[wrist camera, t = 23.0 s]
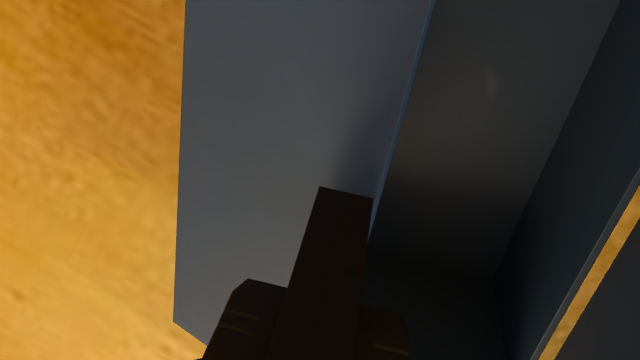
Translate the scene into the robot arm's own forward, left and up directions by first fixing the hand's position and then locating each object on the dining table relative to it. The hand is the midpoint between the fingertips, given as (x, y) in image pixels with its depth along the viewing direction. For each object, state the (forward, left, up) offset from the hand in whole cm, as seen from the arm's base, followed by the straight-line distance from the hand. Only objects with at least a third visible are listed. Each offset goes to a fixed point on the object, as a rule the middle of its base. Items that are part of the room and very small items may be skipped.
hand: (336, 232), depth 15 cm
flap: (0, +2, -2) cm, 3 cm away
